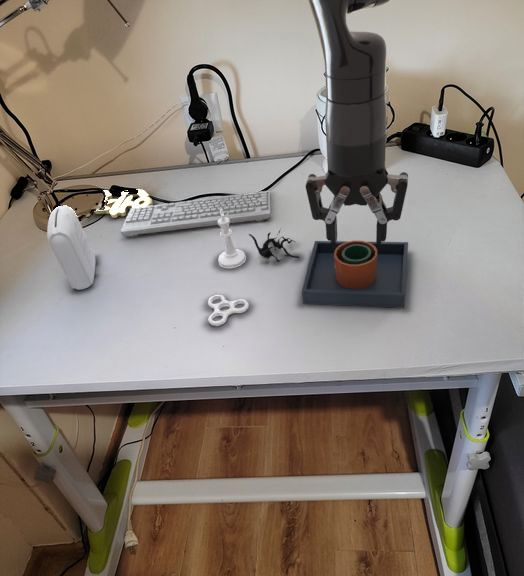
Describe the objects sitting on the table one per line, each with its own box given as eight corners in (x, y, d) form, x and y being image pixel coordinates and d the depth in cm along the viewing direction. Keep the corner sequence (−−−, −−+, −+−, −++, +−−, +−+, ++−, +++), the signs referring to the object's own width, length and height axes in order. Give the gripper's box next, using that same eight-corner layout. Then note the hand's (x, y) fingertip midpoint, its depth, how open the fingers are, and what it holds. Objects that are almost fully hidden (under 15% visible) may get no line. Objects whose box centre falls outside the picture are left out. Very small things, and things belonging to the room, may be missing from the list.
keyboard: (270, 192, 103) (268, 183, 102) (271, 221, 96) (269, 212, 95) (131, 210, 106) (128, 201, 104) (123, 239, 99) (119, 230, 98)
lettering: (161, 191, 110) (159, 187, 110) (145, 216, 104) (144, 212, 103) (59, 195, 116) (57, 191, 115) (38, 219, 109) (36, 215, 108)
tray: (407, 254, 83) (408, 241, 82) (404, 308, 75) (405, 295, 73) (315, 252, 87) (314, 240, 86) (302, 303, 79) (301, 291, 77)
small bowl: (371, 264, 81) (372, 243, 78) (370, 282, 78) (370, 261, 76) (344, 264, 82) (343, 244, 80) (341, 282, 79) (340, 261, 77)
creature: (278, 242, 93) (244, 254, 89) (280, 214, 90) (245, 225, 85) (308, 259, 88) (273, 272, 84) (311, 230, 85) (275, 242, 81)
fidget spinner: (208, 299, 82) (207, 295, 82) (247, 292, 82) (246, 288, 82) (209, 328, 77) (208, 324, 77) (250, 321, 77) (249, 317, 77)
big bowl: (378, 264, 82) (378, 240, 79) (375, 290, 78) (375, 266, 75) (337, 263, 84) (336, 240, 80) (332, 288, 79) (331, 265, 76)
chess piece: (221, 271, 87) (209, 221, 80) (216, 256, 91) (203, 206, 84) (249, 264, 88) (239, 213, 81) (242, 249, 91) (232, 199, 84)
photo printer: (75, 260, 96) (46, 201, 87) (97, 255, 96) (71, 196, 88) (71, 293, 89) (39, 233, 80) (95, 287, 89) (66, 227, 80)
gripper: (294, 145, 64) (305, 255, 75) (414, 141, 60) (405, 257, 72) (304, 120, 68) (313, 227, 80) (415, 115, 65) (407, 227, 77)
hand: (356, 241), depth 76 cm, fingers open, 6 cm apart
